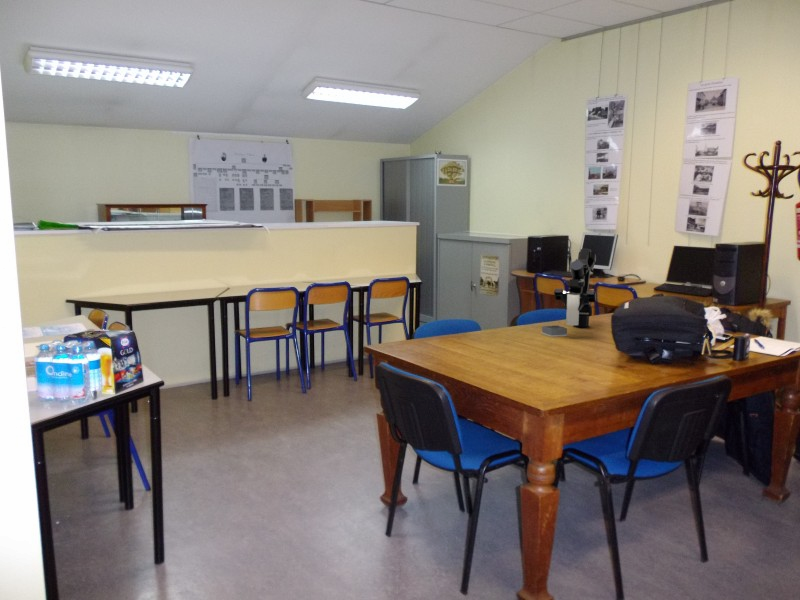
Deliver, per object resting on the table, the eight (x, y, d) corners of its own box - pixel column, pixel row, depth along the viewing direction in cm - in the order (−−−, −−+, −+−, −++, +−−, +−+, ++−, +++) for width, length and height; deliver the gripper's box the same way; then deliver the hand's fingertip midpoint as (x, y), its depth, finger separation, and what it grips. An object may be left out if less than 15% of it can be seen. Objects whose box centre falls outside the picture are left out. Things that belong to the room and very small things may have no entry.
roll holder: (557, 332, 323) (557, 325, 322) (567, 335, 314) (567, 328, 314) (541, 333, 320) (541, 325, 320) (550, 336, 312) (551, 329, 311)
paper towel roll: (574, 323, 312) (575, 293, 310) (580, 325, 307) (582, 295, 305) (563, 323, 311) (565, 293, 309) (570, 325, 306) (571, 295, 304)
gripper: (555, 271, 313) (550, 297, 304) (596, 273, 305) (591, 300, 297) (558, 286, 321) (552, 312, 313) (597, 288, 314) (593, 315, 305)
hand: (572, 309), depth 307 cm, fingers closed on paper towel roll, 6 cm apart
